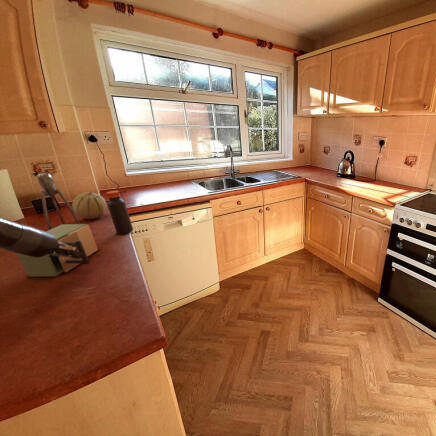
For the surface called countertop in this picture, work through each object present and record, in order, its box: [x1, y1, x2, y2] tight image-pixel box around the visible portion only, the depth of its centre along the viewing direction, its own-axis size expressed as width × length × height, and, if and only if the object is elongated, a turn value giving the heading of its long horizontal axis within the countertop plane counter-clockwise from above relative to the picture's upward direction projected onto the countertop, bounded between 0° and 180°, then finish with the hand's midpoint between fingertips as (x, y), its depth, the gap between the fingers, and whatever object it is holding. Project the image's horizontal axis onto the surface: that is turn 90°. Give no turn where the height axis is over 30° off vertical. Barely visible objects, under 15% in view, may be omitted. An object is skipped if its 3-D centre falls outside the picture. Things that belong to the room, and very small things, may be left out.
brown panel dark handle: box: [58, 232, 90, 273], centre depth 88 cm, size 9×9×12 cm
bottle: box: [105, 190, 134, 235], centre depth 114 cm, size 7×7×20 cm
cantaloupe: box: [71, 191, 108, 220], centre depth 134 cm, size 15×15×15 cm
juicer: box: [36, 172, 81, 230], centre depth 111 cm, size 10×11×30 cm
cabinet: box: [16, 223, 99, 278], centre depth 90 cm, size 11×18×12 cm, turn 179°
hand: (79, 255), depth 83 cm, fingers closed
